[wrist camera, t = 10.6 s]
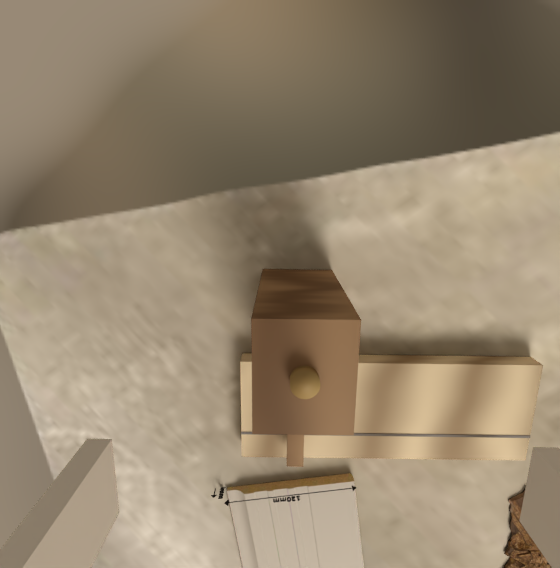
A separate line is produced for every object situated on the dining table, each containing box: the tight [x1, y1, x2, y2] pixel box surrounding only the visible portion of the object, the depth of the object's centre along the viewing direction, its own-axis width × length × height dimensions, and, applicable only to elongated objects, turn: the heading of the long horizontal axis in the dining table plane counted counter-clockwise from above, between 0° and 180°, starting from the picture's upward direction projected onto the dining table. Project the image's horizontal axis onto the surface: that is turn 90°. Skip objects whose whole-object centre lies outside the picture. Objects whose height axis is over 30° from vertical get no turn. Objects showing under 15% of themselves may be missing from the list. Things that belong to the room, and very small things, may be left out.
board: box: [240, 353, 543, 460], centre depth 30 cm, size 22×8×2 cm, turn 89°
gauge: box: [251, 269, 361, 467], centre depth 25 cm, size 5×14×12 cm, turn 179°
